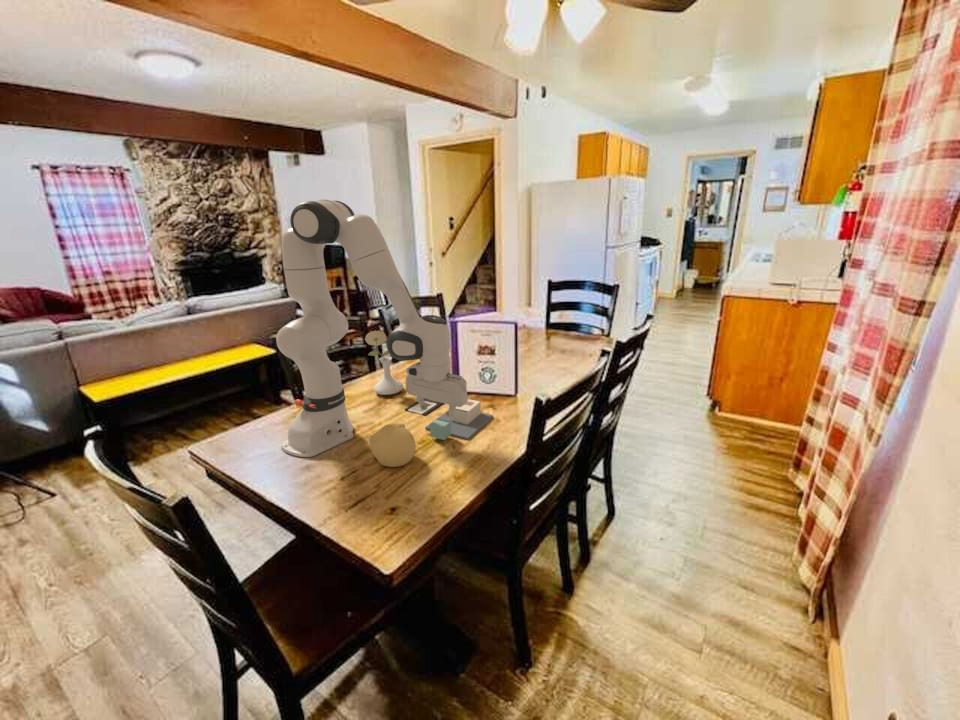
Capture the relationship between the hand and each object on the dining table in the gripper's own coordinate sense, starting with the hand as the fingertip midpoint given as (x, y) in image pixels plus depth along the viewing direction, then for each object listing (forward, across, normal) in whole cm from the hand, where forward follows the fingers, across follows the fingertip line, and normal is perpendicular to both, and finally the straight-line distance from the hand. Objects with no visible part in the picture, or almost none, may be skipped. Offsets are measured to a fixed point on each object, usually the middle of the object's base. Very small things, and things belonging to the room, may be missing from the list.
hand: (436, 412), depth 133 cm
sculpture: (+9, +4, +16) cm, 19 cm away
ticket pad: (+9, -1, -12) cm, 15 cm away
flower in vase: (+10, +39, -22) cm, 46 cm away
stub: (+8, -1, 0) cm, 8 cm away
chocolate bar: (+10, +17, -20) cm, 28 cm away
